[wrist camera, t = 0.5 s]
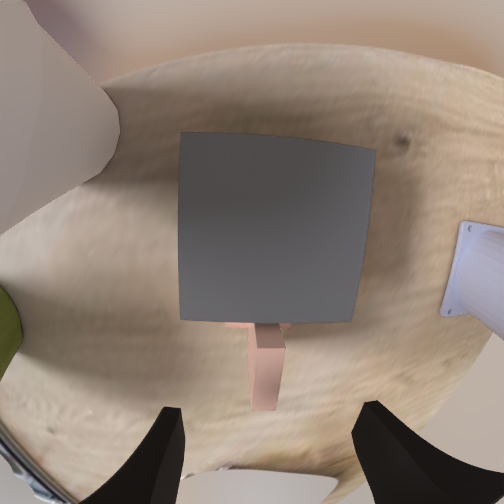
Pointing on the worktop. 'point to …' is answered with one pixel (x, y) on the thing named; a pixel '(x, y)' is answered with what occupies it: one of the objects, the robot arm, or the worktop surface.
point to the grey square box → (271, 228)
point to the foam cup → (46, 118)
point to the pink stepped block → (264, 362)
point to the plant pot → (8, 331)
